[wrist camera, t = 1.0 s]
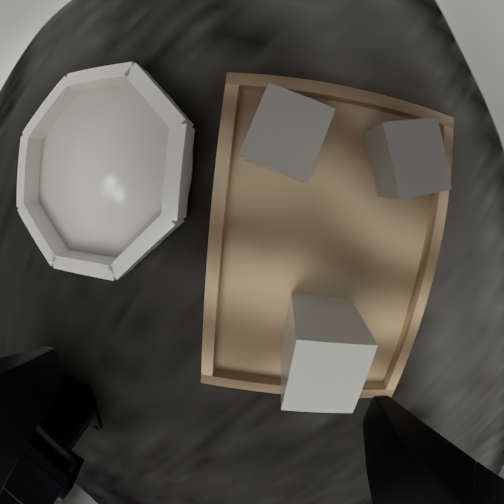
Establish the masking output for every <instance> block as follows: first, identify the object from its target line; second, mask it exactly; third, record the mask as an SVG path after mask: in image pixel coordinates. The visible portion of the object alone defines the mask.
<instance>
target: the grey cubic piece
mask: <svg viewBox="0 0 504 504" xmlns="http://www.w3.org/2000/svg"><path fill="white" fill-rule="evenodd" d="M335 110H336V109H335V108H333V107H330V106H328V105H326V104H323V103H321V102H319V101H316V100H314V99H311V98H309V97H306V96H304V95H301V94H298V93H296V92H293V91H290V90H288V89H285V88H282V87H279V86H276V85H273V84H270V83H268V85H267V87H266V90H265V92H264V94H263V97H262V99H261V101H260V104H259V106H258V109H257V111H256V113H255V116H254V118H253V121H252V123H251V125H250V128H249V130H248V133H247V135H246V138H245V140H244V143H243V145H242V148H241V150H240V153H239V156H240V157H242V158H243V159H244V160H246V161H248V162H251V163H253V164H256V165H259V166H261V167H264V168H267V169H269V170H272V171H274V172H277V173H279V174H282V175H284V176H287V177H289V178H292V179H294V180H297V181H299V182H307V181H308V179H309V176H310V174H311V171H312V169H313V166H314V164H315V161H316V158H317V156H318V153H319V151H320V148H321V146H322V143H323V141H324V138H325V136H326V133H327V130H328V128H329V125H330V123H331V120H332V118H333V115H334V112H335Z"/></svg>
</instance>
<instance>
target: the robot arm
mask: <svg viewBox="0 0 504 504" xmlns="http://www.w3.org/2000/svg"><path fill="white" fill-rule="evenodd" d="M63 375H64V371H63V367H62V364H61V360H60V357H59V353H58V351H57V350H56V349H54V348H51V347H48V346H44V347H40V348H36V349H33V350H29V351H25V352H21V353H18V354H14V355H10V356H6V357H2V358H0V504H53V503H54V502H55V503H59V502H61V501H62V500H63V499H64V498H65V497H66V496H67V495H68V493H69V492H70V491H71V489H72V487H73V485H74V483H75V480H76V478H77V476H78V473H79V471H80V469H81V466H82V464H83V462H84V459H82V458H81V457H80V456H78V455H77V454H75V453H74V452H73V451H72V450H71V449H72V448H73V447H74V445H75V444H76V442H77V441H78V440H79V438H80V437H81V435H82V434H83V432H84V431H85V430H86V428H87V427H88V426H89V427H91V428H94V429H96V430H100V429H101V428H102V426H101V422H100V419H99V416H98V412H97V409H96V405H95V402H94V398H93V394H92V390H91V388H90V387H89V386H87V385H85V384H82V383H79V382H77V381H74V380H72V379H69V378H67V377H64V376H63ZM363 433H364V444H365V457H366V469H367V476H368V481H369V486H370V492H371V497H372V503H373V504H504V479H503V478H501V477H500V476H498V475H496V474H495V473H493V472H492V471H490V470H489V469H487V468H486V467H484V466H483V465H482V464H480V463H479V462H476V461H475V460H474V459H473V458H472V457H470V456H469V455H467V454H466V453H465V452H463V451H462V450H460V449H459V448H458V447H456V446H455V445H453V444H452V443H451V442H449V441H448V440H447V439H445V438H444V437H442V436H441V435H440V434H438V433H437V432H436V431H434V430H433V429H432V428H430V427H429V426H428V425H426V424H425V423H424V422H422V421H421V420H420V419H418V418H417V417H416V416H414V415H413V414H412V413H410V412H409V411H408V410H406V409H405V408H404V407H402V406H401V405H400V404H398V403H397V402H396V401H394V400H393V399H392V398H391V397H389V396H387V395H380V396H374V397H372V399H371V400H370V403H369V405H368V408H367V411H366V413H365V415H364V418H363Z"/></svg>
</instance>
